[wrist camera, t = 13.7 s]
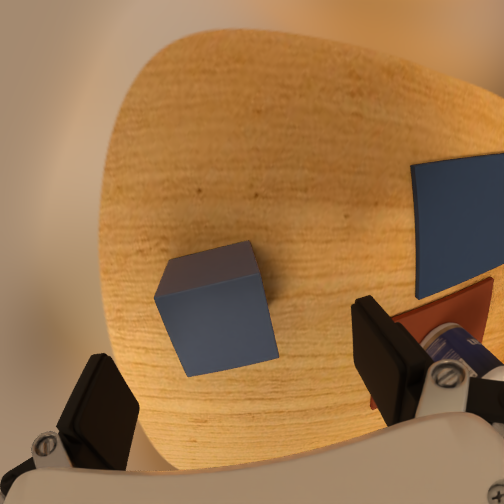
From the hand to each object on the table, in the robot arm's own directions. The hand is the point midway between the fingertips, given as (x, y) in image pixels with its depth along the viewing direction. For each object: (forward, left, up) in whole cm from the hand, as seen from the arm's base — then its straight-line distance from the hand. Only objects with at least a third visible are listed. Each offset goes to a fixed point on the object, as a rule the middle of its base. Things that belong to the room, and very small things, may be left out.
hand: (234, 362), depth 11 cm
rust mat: (+14, -10, -7) cm, 19 cm away
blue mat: (+18, 0, -7) cm, 19 cm away
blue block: (-1, 0, -7) cm, 7 cm away
